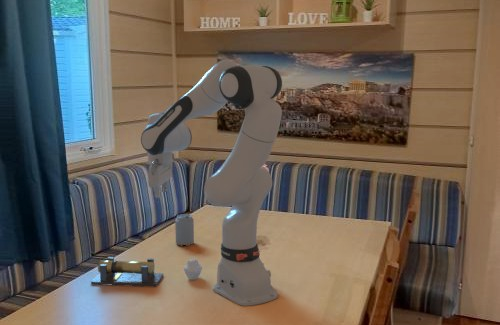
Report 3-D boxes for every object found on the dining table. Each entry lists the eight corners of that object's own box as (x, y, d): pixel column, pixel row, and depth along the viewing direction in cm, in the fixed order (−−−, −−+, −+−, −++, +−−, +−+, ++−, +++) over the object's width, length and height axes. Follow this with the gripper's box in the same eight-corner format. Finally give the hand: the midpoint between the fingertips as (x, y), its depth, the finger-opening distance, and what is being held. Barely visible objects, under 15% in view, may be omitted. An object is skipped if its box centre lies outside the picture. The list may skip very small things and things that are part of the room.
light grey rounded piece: (185, 282, 166) (185, 262, 165) (182, 275, 172) (182, 256, 171) (203, 280, 168) (203, 261, 167) (200, 273, 174) (200, 254, 173)
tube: (155, 267, 169) (153, 259, 166) (152, 276, 165) (150, 268, 163) (103, 265, 170) (100, 257, 168) (99, 274, 167) (97, 266, 165)
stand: (163, 276, 172) (162, 258, 171) (156, 286, 163) (155, 268, 162) (101, 274, 174) (100, 256, 173) (91, 284, 165) (90, 265, 164)
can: (192, 246, 202) (192, 218, 200) (174, 246, 202) (173, 218, 200) (195, 241, 209) (194, 213, 207) (177, 240, 209) (176, 213, 207)
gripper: (161, 162, 171) (162, 201, 173) (175, 153, 191) (175, 188, 193) (143, 162, 171) (144, 201, 174) (158, 153, 191) (159, 188, 194)
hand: (161, 194), depth 183 cm, fingers open, 8 cm apart
